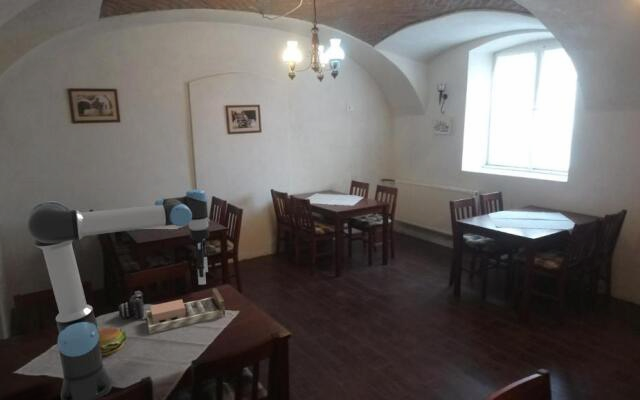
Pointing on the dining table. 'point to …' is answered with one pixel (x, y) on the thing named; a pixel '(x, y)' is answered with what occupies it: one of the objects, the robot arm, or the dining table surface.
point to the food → (111, 340)
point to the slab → (167, 310)
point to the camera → (133, 306)
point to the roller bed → (184, 320)
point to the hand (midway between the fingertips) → (203, 277)
